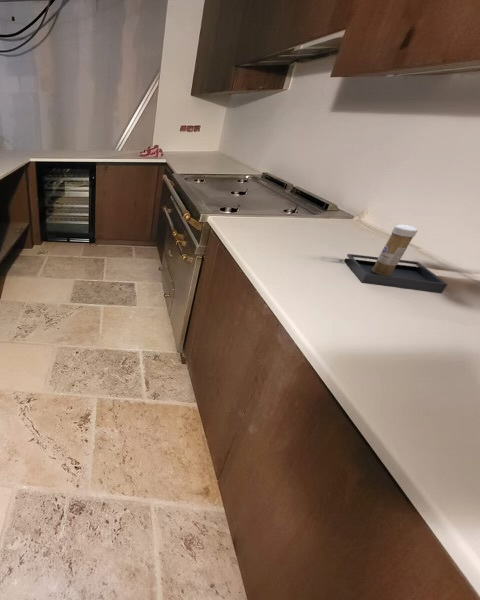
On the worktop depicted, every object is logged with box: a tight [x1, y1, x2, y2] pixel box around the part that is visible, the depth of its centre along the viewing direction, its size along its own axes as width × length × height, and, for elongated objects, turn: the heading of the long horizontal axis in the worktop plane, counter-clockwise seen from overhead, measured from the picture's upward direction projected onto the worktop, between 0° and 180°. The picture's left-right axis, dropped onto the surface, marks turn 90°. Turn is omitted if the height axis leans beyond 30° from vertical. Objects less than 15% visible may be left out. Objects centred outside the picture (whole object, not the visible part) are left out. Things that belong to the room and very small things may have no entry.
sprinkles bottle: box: [371, 224, 419, 276], centre depth 86 cm, size 5×5×13 cm
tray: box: [344, 253, 449, 294], centre depth 89 cm, size 17×14×2 cm
